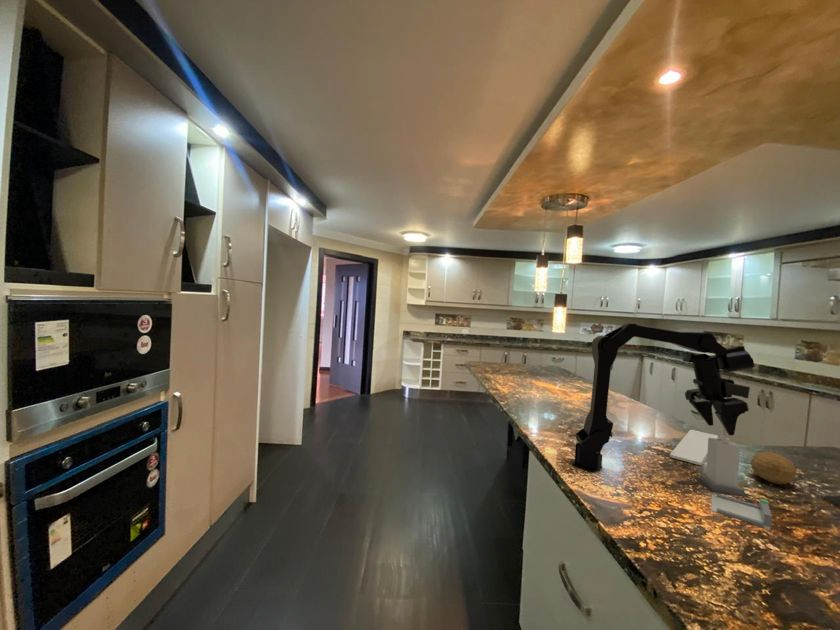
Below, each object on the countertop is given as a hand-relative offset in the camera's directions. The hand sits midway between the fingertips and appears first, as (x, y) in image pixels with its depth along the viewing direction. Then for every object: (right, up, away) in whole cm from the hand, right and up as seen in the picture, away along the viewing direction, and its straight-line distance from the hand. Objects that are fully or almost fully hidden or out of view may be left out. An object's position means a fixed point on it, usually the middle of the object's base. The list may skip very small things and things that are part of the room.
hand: (720, 430), depth 100 cm
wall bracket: (+11, -17, +24) cm, 32 cm away
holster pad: (-2, -15, -2) cm, 16 cm away
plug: (-2, -15, -2) cm, 15 cm away
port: (-8, -15, -15) cm, 23 cm away
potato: (+19, -17, +5) cm, 26 cm away
